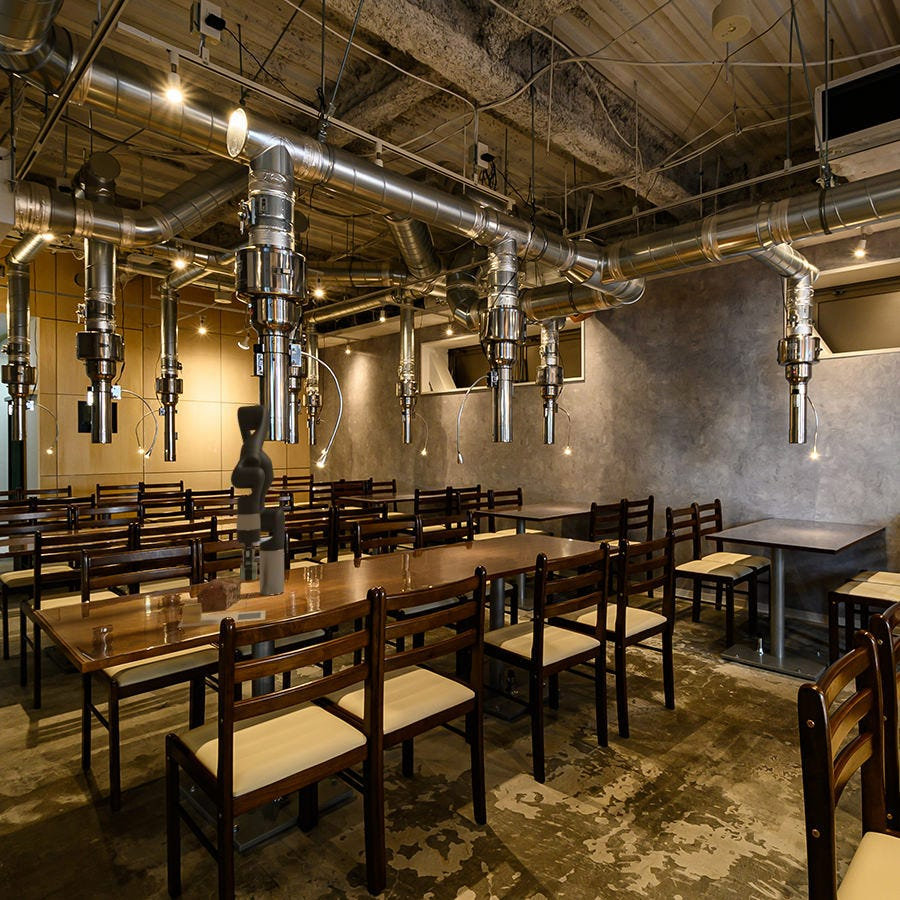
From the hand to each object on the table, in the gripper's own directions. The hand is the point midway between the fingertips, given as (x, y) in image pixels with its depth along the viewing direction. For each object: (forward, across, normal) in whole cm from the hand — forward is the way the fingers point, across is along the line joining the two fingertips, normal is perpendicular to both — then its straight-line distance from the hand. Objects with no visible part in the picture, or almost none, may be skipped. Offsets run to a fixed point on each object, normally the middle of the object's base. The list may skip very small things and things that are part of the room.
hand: (248, 578), depth 191 cm
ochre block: (+12, 0, -17) cm, 21 cm away
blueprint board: (+13, 0, -8) cm, 15 cm away
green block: (0, 0, 0) cm, 0 cm away
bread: (+13, -21, -11) cm, 27 cm away
